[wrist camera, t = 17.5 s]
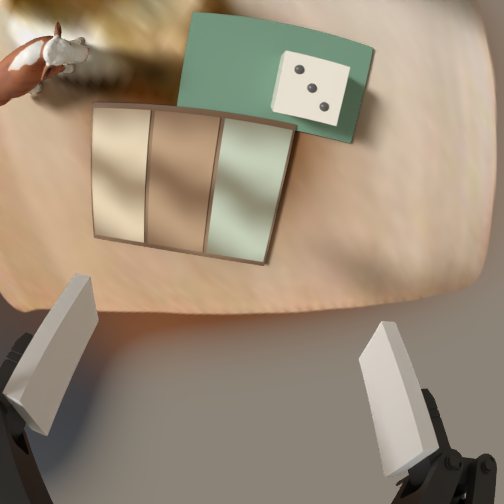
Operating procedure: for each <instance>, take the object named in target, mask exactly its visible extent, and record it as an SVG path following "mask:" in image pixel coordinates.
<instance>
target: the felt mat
mask: <svg viewBox="0 0 504 504" xmlns="http://www.w3.org/2000/svg"><path fill="white" fill-rule="evenodd" d="M285 51H291V52H295V53H300V54H304V55H308V56H312V57H316V58H320V59H324V60H328V61H331V62H335V63H338V64H342V65H345V66H348V67H350V70H349V75H348V79H347V84H346V88H345V92H344V96H343V101H342V105H341V109H340V113H339V117H338V121H337V125H336V126H334V125H330V124H326V123H322V122H318V121H314V120H310V119H305V118H301V117H296V116H292V115H287V114H282V113H277V112H273V110H272V108H271V103H272V98H273V93H274V88H275V83H276V78H277V73H278V69H279V64H280V59H281V55H282V54H283V53H284V52H285ZM372 52H373V48H372V47H369V46H366V45H363V44H360V43H357V42H354V41H351V40H348V39H345V38H341V37H338V36H334V35H331V34H327V33H323V32H319V31H316V30H312V29H307V28H303V27H299V26H294V25H289V24H284V23H279V22H274V21H268V20H262V19H256V18H249V17H241V16H233V15H224V14H213V13H199V12H193V14H192V19H191V24H190V29H189V35H188V40H187V45H186V51H185V57H184V63H183V69H182V75H181V82H180V89H179V96H178V103H177V106H179V107H189V108H198V109H207V110H215V111H222V112H229V113H236V114H242V115H248V116H254V117H260V118H266V119H271V120H276V121H281V122H286V123H291V124H296V129H295V130H296V131H301V132H306V133H310V134H314V135H319V136H323V137H327V138H331V139H335V140H339V141H343V142H347V143H350V144H351V141H352V137H353V133H354V129H355V125H356V122H357V118H358V114H359V109H360V105H361V101H362V97H363V93H364V88H365V84H366V80H367V75H368V71H369V66H370V62H371V57H372Z"/></svg>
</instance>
